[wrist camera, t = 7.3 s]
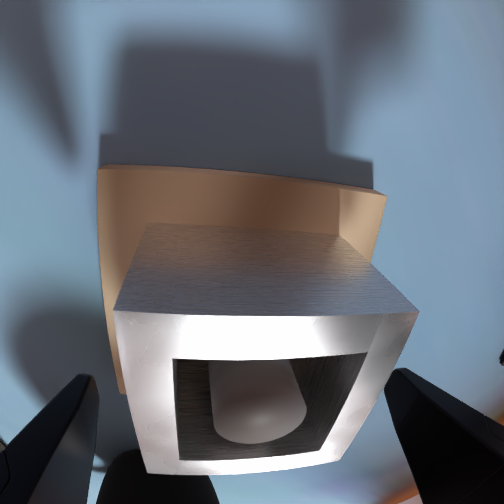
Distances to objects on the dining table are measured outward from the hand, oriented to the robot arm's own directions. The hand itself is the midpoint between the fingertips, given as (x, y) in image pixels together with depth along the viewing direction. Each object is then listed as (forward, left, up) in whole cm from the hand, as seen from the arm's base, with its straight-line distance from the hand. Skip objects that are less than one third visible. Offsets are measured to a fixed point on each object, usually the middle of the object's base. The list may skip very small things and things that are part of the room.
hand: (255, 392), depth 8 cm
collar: (0, 0, -4) cm, 4 cm away
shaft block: (0, 0, -5) cm, 5 cm away
